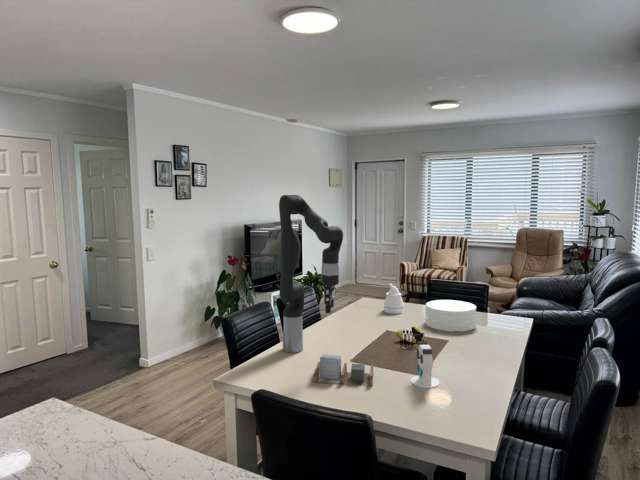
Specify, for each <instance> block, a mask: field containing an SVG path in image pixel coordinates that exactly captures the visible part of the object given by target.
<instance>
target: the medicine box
mask: <svg viewBox="0 0 640 480" xmlns="http://www.w3.org/2000/svg"><path fill="white" fill-rule="evenodd" d="M319 362H320V378H327V379H336V380H339V379H340V377H341V372H342V356H341V355H337V354H326V353H323V354H322V355H321V356H320V357H319Z"/></svg>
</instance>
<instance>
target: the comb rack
mask: <svg viewBox="0 0 640 480" xmlns="http://www.w3.org/2000/svg"><path fill="white" fill-rule="evenodd" d="M347 366H348V364H347V362H344V363H343V367H342V370H341V377H340V379H339V380H336V379H327V378H320V361H318V362H317V365H316V366H315V369H314V371H313V384H324V385H325V384H326V385H341V386H342V385H343V386H360V387H361V386H363V387H373V386H374V385H373V383H374V363H373V364H370V369H369V370H370V371H369V373H365V377H364V382H351V372H348V367H347Z"/></svg>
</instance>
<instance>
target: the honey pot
mask: <svg viewBox="0 0 640 480" xmlns="http://www.w3.org/2000/svg"><path fill="white" fill-rule="evenodd" d="M388 286H389V287H390V288H389V290H388V292H386V293H385V295H386V297H385V300H384V301H383V312H384V313H386V314H392V315H393V314H394V315H395V314H396V315H397V314H403V313H404V312H405V303H404V301H403V298H402V293H401V292H400V290H399V289H398V287H396V286H395V285H394V284H393V283H388Z"/></svg>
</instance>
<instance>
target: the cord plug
mask: <svg viewBox="0 0 640 480" xmlns="http://www.w3.org/2000/svg"><path fill="white" fill-rule="evenodd" d="M351 364H352V365H351V368H350V373H351V382H364V377H365V371H366V370H365V367H366V365H365V364H364V363H363V364H361V363H351Z"/></svg>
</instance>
